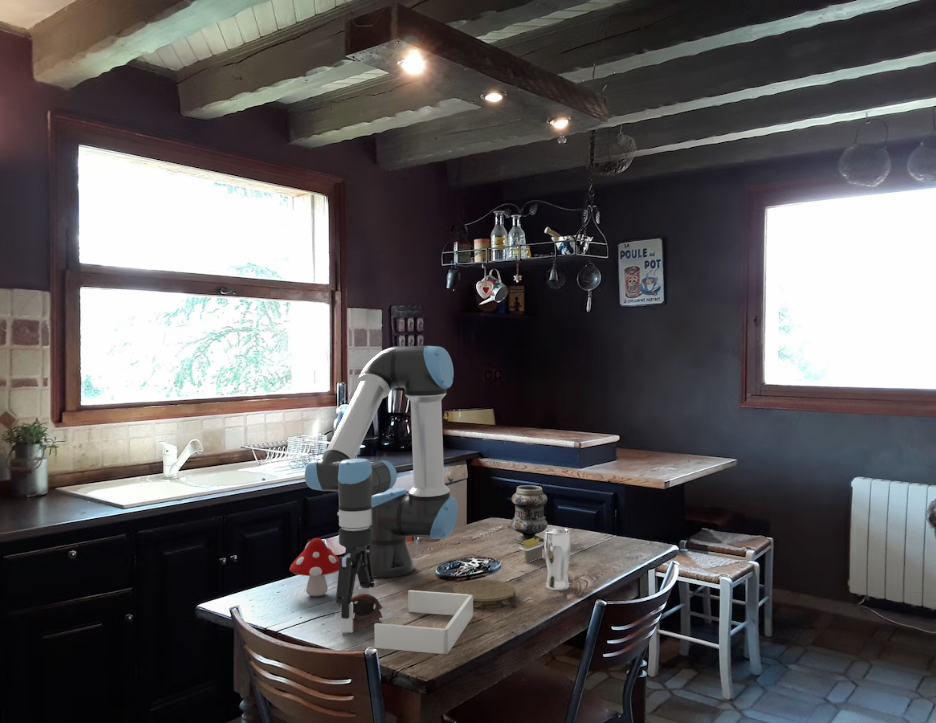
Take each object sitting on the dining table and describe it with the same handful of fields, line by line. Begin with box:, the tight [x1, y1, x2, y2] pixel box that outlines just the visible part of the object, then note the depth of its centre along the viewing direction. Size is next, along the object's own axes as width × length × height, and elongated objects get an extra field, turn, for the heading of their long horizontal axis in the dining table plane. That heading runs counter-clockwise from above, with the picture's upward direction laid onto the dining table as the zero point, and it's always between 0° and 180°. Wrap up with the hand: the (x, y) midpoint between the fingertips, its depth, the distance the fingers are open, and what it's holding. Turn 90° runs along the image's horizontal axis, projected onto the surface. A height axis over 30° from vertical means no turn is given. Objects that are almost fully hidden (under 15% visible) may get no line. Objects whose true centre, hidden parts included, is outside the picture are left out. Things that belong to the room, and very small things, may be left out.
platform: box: [519, 538, 544, 564], centre depth 226 cm, size 12×18×7 cm, turn 139°
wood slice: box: [452, 579, 516, 611], centre depth 190 cm, size 16×16×3 cm
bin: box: [373, 589, 474, 655], centre depth 168 cm, size 24×16×5 cm
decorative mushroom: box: [289, 537, 340, 597], centre depth 194 cm, size 14×14×15 cm
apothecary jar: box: [510, 485, 548, 544], centre depth 249 cm, size 12×12×18 cm
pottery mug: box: [338, 594, 384, 632], centre depth 173 cm, size 12×10×8 cm
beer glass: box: [543, 527, 571, 591], centre depth 200 cm, size 7×7×15 cm
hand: (356, 623), depth 172 cm, fingers open, 10 cm apart
